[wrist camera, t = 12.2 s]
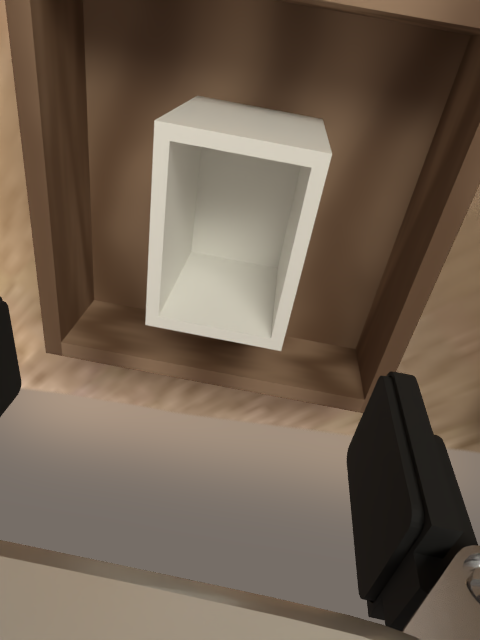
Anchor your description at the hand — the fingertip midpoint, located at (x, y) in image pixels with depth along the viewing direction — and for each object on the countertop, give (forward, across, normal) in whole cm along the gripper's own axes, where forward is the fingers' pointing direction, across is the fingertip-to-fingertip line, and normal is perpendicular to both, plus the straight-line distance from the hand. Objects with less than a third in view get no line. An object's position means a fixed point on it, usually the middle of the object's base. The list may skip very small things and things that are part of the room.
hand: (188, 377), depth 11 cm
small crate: (+16, 0, 0) cm, 16 cm away
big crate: (+17, 0, +1) cm, 17 cm away
